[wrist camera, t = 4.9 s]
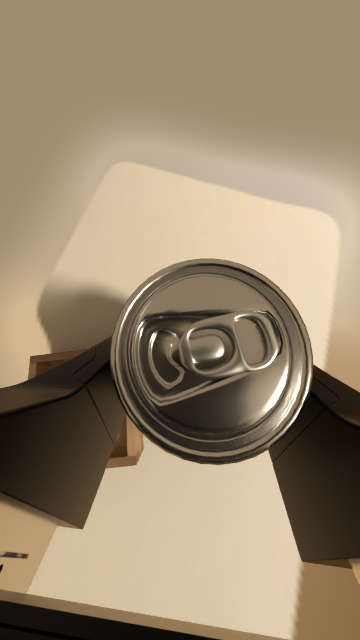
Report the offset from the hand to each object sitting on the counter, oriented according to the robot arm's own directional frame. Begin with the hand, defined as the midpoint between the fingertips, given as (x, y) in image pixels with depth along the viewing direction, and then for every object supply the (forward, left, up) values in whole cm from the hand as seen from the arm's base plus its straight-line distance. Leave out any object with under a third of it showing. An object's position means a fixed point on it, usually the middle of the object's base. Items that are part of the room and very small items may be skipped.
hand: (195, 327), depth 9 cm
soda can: (-1, 0, -7) cm, 7 cm away
